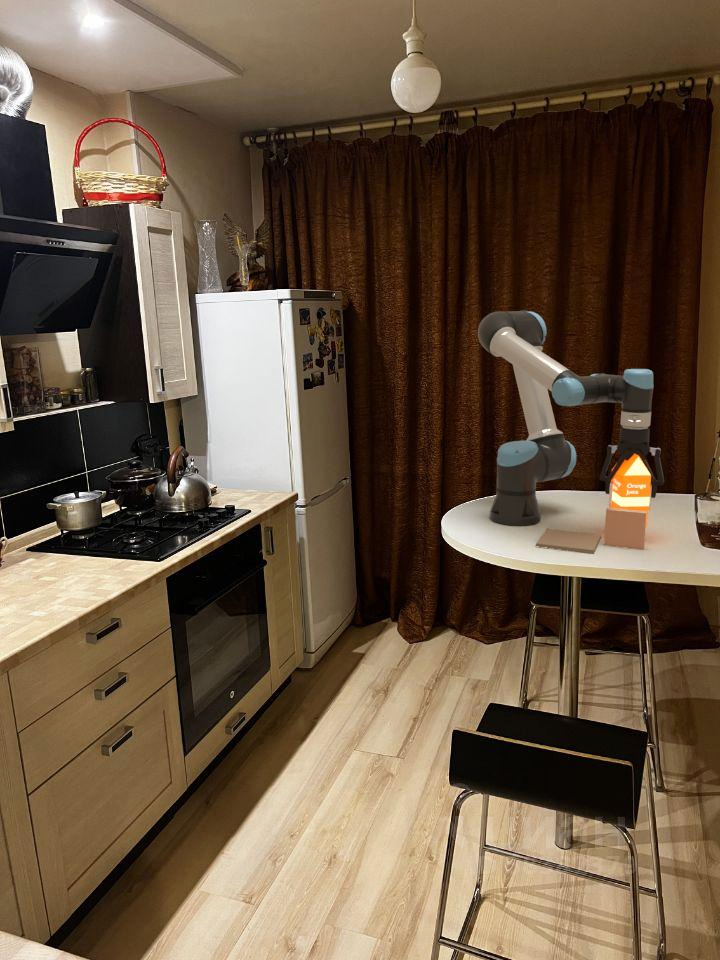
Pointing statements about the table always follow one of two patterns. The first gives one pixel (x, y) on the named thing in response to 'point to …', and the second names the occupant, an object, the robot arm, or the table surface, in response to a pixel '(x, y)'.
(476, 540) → the table surface
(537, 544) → the cork mat
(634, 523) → the tile
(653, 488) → the robot arm
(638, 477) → the orange juice
